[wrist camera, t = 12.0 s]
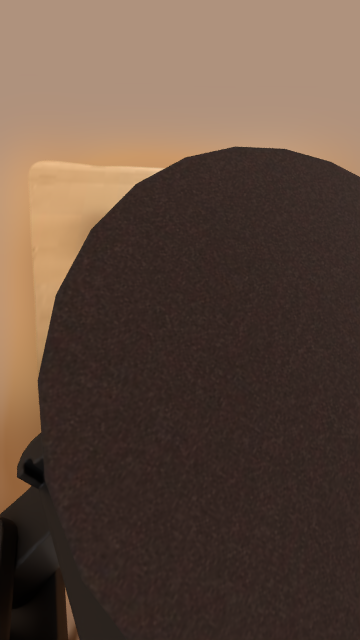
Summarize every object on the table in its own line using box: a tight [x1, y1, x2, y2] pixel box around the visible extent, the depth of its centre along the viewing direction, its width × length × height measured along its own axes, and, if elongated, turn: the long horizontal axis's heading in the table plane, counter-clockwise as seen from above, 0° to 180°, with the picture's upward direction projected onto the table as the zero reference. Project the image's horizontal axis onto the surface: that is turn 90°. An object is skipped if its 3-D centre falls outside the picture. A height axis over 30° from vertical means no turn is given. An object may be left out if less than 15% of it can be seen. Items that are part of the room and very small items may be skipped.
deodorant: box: [38, 147, 360, 640], centre depth 10 cm, size 6×6×15 cm
